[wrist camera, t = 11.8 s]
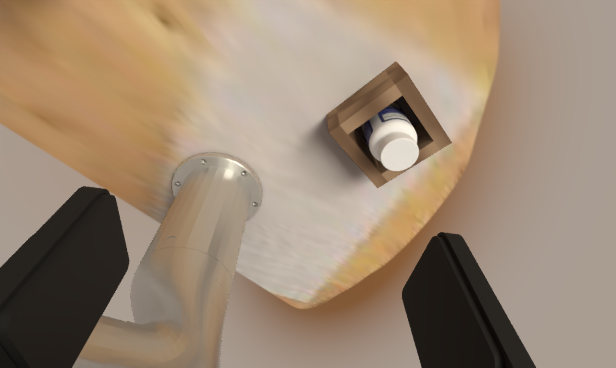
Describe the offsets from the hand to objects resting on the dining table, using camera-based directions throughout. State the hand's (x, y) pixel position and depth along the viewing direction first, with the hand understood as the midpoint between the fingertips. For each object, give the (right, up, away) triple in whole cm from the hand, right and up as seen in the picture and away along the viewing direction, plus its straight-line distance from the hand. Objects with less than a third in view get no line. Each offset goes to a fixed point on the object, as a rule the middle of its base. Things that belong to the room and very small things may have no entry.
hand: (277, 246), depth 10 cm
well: (+10, +10, +30) cm, 33 cm away
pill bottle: (+10, +10, +30) cm, 34 cm away
